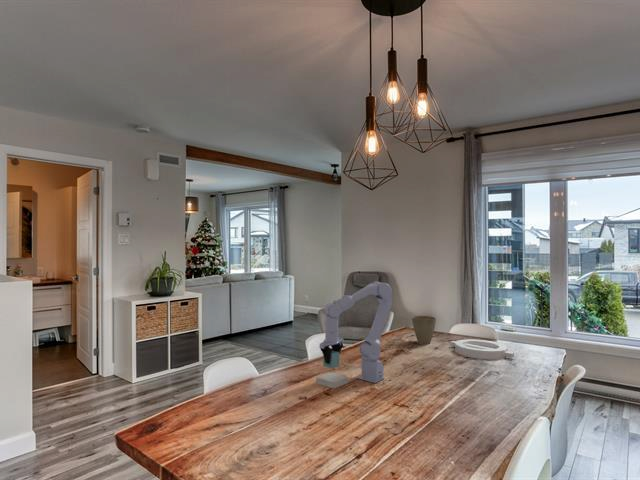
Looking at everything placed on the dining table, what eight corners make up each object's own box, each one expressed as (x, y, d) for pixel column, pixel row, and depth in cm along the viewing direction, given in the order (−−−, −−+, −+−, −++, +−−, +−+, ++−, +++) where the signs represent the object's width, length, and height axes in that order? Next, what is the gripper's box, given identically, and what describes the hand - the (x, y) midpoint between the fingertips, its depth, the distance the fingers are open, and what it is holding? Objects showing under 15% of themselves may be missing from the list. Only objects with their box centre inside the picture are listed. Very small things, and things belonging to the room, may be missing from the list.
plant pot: (421, 339, 260) (421, 314, 260) (440, 343, 249) (440, 318, 249) (406, 342, 251) (407, 317, 251) (426, 346, 239) (426, 320, 240)
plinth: (348, 382, 173) (348, 376, 173) (334, 388, 165) (334, 382, 166) (330, 377, 180) (330, 372, 180) (316, 383, 172) (316, 377, 172)
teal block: (339, 365, 174) (339, 352, 174) (332, 368, 170) (332, 354, 170) (330, 363, 177) (330, 350, 177) (323, 365, 173) (323, 352, 174)
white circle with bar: (449, 346, 242) (449, 338, 242) (495, 347, 241) (495, 339, 241) (463, 359, 214) (463, 350, 214) (516, 360, 213) (516, 351, 213)
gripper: (334, 327, 182) (334, 356, 182) (314, 332, 171) (313, 363, 171) (347, 329, 177) (346, 359, 177) (326, 334, 166) (326, 366, 166)
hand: (331, 361), depth 174 cm, fingers closed on teal block, 5 cm apart
